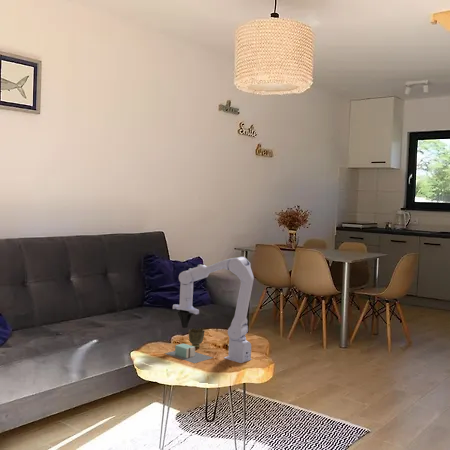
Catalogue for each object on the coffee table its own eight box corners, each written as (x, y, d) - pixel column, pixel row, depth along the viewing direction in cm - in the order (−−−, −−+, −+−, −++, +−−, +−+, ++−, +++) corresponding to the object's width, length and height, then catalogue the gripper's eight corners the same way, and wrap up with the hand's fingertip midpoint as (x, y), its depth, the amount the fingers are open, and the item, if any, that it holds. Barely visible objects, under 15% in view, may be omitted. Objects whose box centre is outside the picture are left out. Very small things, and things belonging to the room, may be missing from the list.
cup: (204, 345, 253) (205, 328, 253) (202, 349, 246) (203, 332, 246) (189, 344, 254) (189, 327, 254) (186, 348, 247) (187, 331, 246)
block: (195, 346, 235) (183, 343, 239) (187, 348, 231) (175, 345, 235) (194, 355, 235) (183, 352, 239) (186, 358, 231) (174, 354, 235)
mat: (213, 358, 234) (213, 357, 234) (194, 364, 225) (194, 363, 225) (183, 349, 245) (183, 348, 245) (164, 354, 236) (164, 353, 236)
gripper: (204, 298, 241) (202, 329, 242) (180, 293, 250) (179, 323, 251) (193, 300, 236) (191, 331, 236) (169, 295, 245) (168, 325, 246)
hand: (184, 327), depth 243 cm, fingers closed
